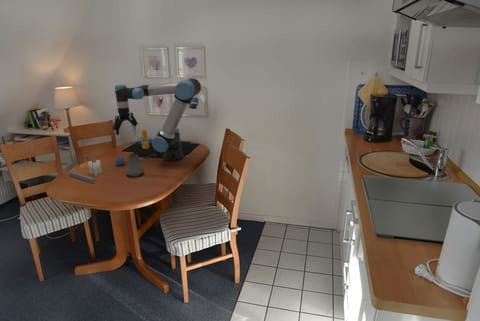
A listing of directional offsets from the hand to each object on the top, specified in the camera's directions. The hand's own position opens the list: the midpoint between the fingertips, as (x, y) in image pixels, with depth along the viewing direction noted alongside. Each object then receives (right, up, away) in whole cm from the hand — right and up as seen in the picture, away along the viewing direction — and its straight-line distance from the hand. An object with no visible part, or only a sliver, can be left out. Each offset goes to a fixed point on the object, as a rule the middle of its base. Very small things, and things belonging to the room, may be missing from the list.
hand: (127, 136), depth 239 cm
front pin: (-14, -25, -14) cm, 32 cm away
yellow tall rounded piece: (+3, -7, +37) cm, 38 cm away
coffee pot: (+16, -26, -19) cm, 36 cm away
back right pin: (-18, -26, -16) cm, 35 cm away
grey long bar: (-21, -29, -24) cm, 43 cm away
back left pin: (-14, -27, -19) cm, 35 cm away
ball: (-5, -17, -2) cm, 18 cm away
